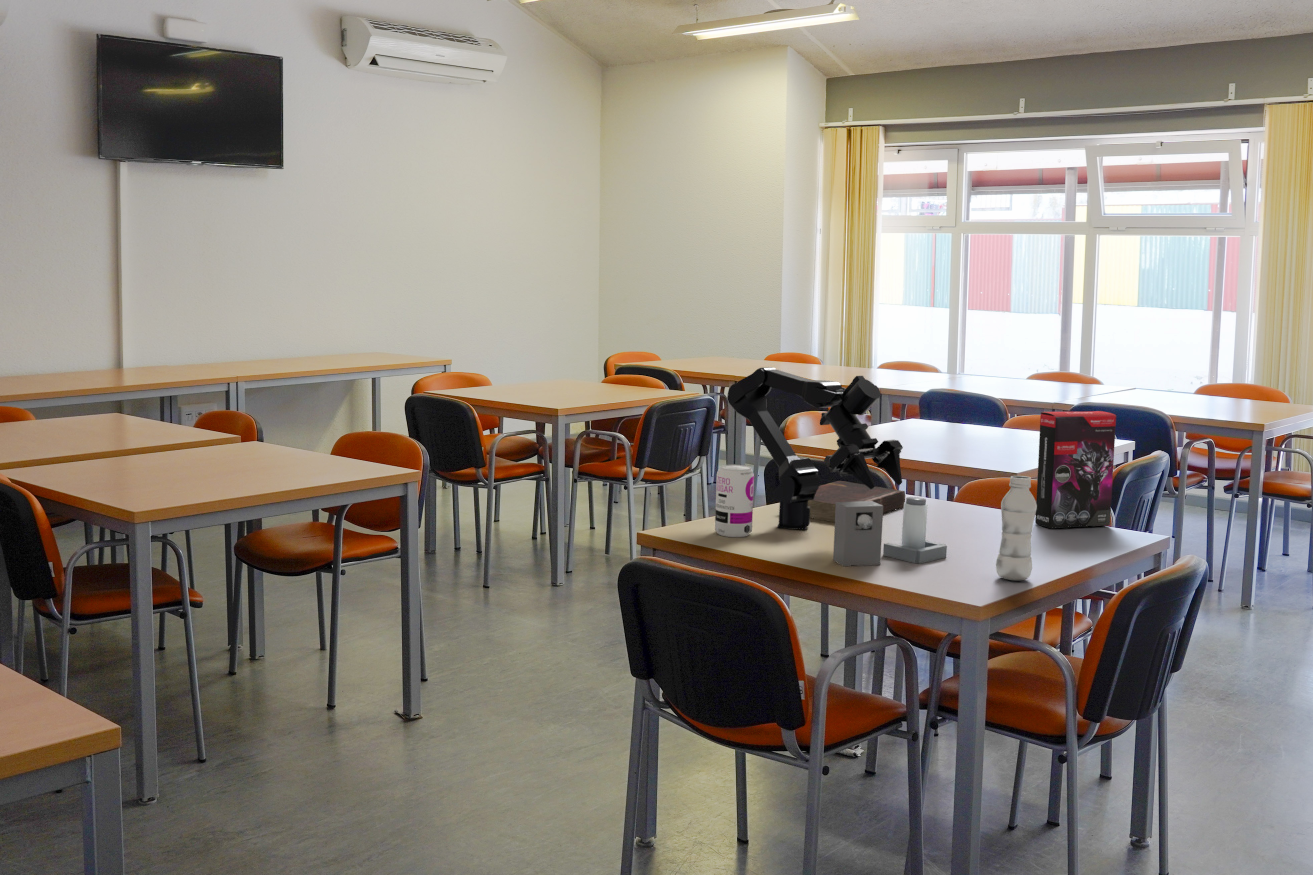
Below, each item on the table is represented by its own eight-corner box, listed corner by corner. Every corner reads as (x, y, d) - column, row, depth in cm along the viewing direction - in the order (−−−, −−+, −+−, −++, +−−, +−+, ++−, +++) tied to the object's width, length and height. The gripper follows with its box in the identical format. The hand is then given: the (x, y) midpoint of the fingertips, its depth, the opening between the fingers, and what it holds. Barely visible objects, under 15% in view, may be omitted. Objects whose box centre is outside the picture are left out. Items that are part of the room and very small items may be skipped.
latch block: (833, 560, 231) (835, 502, 229) (869, 558, 233) (872, 501, 231) (843, 566, 226) (846, 506, 224) (880, 564, 228) (883, 505, 226)
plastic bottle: (989, 575, 222) (996, 474, 219) (1023, 575, 223) (1030, 474, 220) (1002, 583, 216) (1009, 479, 213) (1037, 584, 216) (1044, 480, 213)
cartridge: (900, 557, 235) (904, 500, 233) (900, 551, 240) (904, 495, 238) (924, 559, 234) (928, 501, 232) (924, 553, 239) (928, 497, 237)
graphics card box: (1048, 530, 266) (1057, 414, 262) (1031, 523, 272) (1039, 410, 269) (1110, 527, 271) (1120, 413, 267) (1091, 521, 277) (1100, 410, 274)
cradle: (883, 555, 236) (883, 543, 236) (913, 548, 243) (914, 537, 242) (917, 563, 230) (918, 551, 229) (948, 556, 236) (948, 545, 236)
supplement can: (755, 531, 255) (758, 465, 253) (746, 539, 248) (748, 471, 246) (720, 528, 258) (722, 463, 256) (710, 535, 250) (712, 468, 248)
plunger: (839, 522, 233) (840, 505, 232) (855, 521, 234) (856, 504, 233) (857, 531, 225) (858, 513, 224) (874, 530, 226) (875, 513, 225)
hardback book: (851, 526, 266) (853, 505, 265) (782, 515, 277) (783, 495, 276) (904, 509, 289) (905, 489, 288) (838, 499, 300) (839, 480, 299)
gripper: (854, 448, 258) (891, 503, 252) (799, 454, 246) (836, 512, 240) (884, 417, 252) (922, 473, 245) (828, 422, 239) (867, 481, 233)
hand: (886, 486), depth 241 cm, fingers open, 9 cm apart
